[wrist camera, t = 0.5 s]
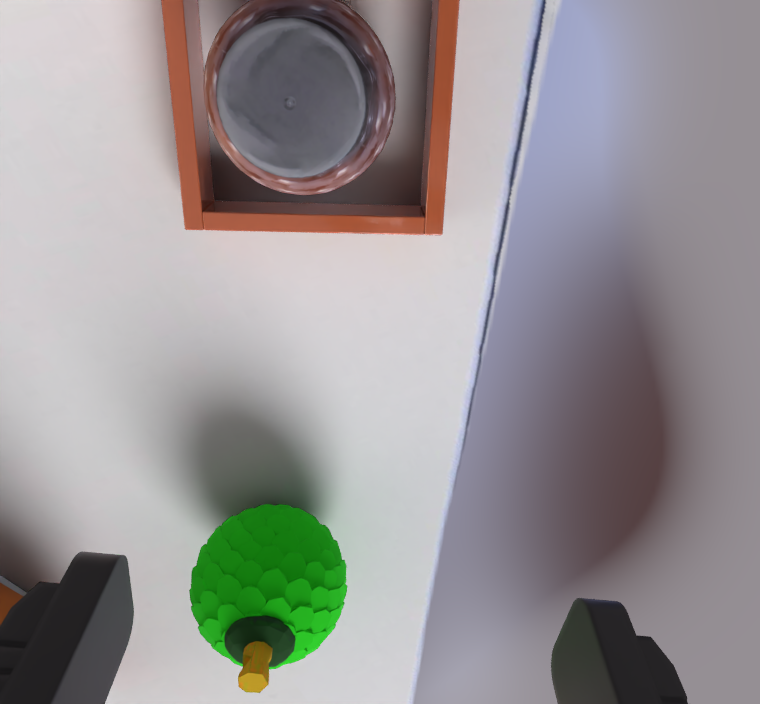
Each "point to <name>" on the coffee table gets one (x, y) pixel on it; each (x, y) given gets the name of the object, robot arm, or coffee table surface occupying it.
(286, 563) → the ornament
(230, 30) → the supplement bottle
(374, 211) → the reddish-brown square frame
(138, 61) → the coffee table surface
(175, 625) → the coffee table surface
